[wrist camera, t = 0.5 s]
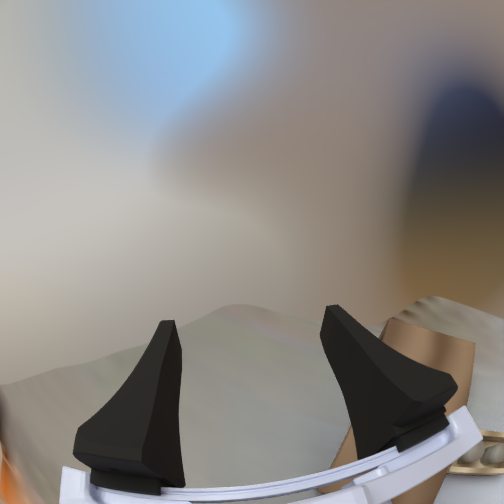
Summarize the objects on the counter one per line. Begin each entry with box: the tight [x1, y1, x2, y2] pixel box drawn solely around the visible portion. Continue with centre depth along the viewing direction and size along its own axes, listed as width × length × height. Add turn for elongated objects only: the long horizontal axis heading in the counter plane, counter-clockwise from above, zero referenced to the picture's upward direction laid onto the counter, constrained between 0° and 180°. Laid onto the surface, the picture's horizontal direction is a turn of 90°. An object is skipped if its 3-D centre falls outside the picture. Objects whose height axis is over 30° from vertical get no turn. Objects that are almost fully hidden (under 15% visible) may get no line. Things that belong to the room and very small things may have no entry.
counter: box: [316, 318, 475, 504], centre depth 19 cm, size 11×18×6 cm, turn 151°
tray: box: [447, 430, 504, 475], centre depth 14 cm, size 10×5×4 cm, turn 61°
